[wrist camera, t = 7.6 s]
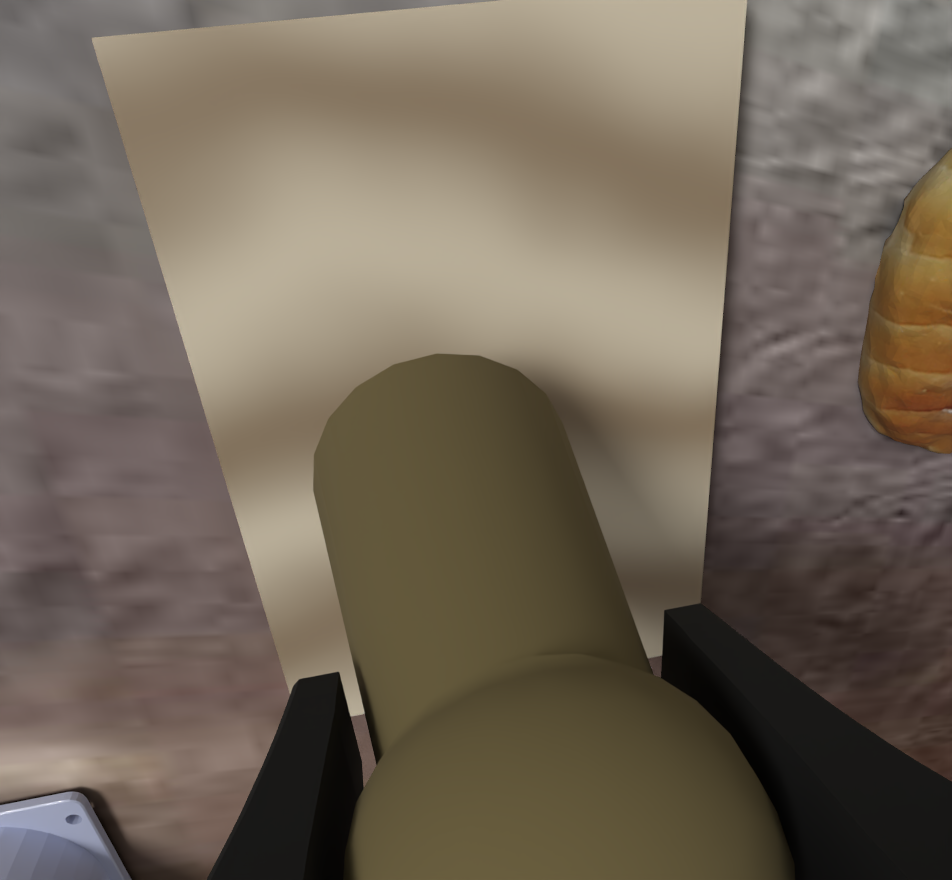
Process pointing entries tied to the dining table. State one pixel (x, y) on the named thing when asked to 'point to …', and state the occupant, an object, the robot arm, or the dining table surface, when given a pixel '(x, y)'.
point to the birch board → (447, 251)
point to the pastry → (913, 321)
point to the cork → (510, 655)
